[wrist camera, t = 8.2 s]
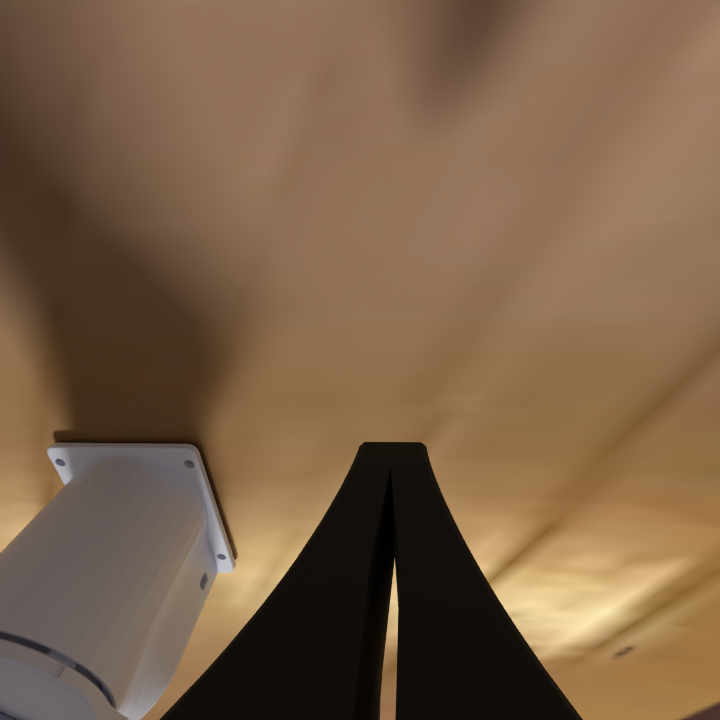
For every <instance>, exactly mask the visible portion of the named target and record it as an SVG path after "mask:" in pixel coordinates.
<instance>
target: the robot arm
mask: <svg viewBox="0 0 720 720" xmlns="http://www.w3.org/2000/svg"><path fill="white" fill-rule="evenodd" d="M47 453H48V455H49V457H50V459H51V461H52V463H53V464H54V466H55V468H56V470H57V472H58V473H59V475H60V477H61V479H62V481H63V482H64V484H65V486H64V487H63V488H62V489H61V490H60V491H59V492H58V494H57V495H56V496H55V497H54V498H53V499H52V500H51V501H50V502H49V503H48V504H47V505H46V506H45V507H44V508H43V509H42V510H41V511H40V512H39V513H38V514H37V515H36V516H35V517H34V519H33V520H32V521H31V522H30V523H29V524H28V525H27V526H26V527H25V528H24V529H23V530H22V531H21V532H20V533H19V534H18V535H17V536H16V537H15V538H14V539H13V540H12V541H11V543H10V544H9V545H8V546H7V547H6V548H5V549H4V550H3V551H2V552H1V553H0V720H140V719H141V718H142V717H143V716H144V715H145V714H146V713H147V712H148V711H149V710H150V709H151V708H152V707H153V706H154V705H155V704H156V702H157V701H158V700H159V698H160V697H161V696H162V694H163V693H164V692H165V690H166V689H167V687H168V685H169V684H170V682H171V680H172V678H173V676H174V674H175V672H176V669H177V667H178V665H179V662H180V660H181V657H182V655H183V653H184V650H185V648H186V646H187V643H188V641H189V639H190V636H191V634H192V632H193V629H194V627H195V625H196V622H197V620H198V617H199V615H200V613H201V610H202V608H203V606H204V603H205V601H206V599H207V596H208V594H209V592H210V589H211V587H212V585H213V582H214V580H215V577H216V575H217V573H218V572H220V573H230V572H232V571H233V570H234V568H235V566H236V562H235V559H234V556H233V553H232V550H231V547H230V544H229V541H228V538H227V535H226V532H225V529H224V526H223V523H222V520H221V517H220V514H219V511H218V508H217V504H216V501H215V498H214V495H213V492H212V489H211V486H210V483H209V480H208V477H207V474H206V471H205V468H204V465H203V462H202V459H201V456H200V453H199V451H198V449H197V448H196V447H195V446H193V445H191V444H146V443H54V444H53V445H51V446H50V447H49V448H48V450H47ZM190 461H192V462H190ZM394 559H395V566H396V580H397V594H398V608H399V610H398V651H397V689H396V720H583V719H582V718H581V717H580V715H579V714H578V713H577V711H576V710H575V709H574V707H573V706H572V705H571V703H570V702H569V701H568V699H567V698H566V697H565V695H564V694H563V693H562V691H561V690H560V689H559V687H558V686H557V684H556V683H555V682H554V680H553V679H552V678H551V676H550V675H549V674H548V672H547V671H546V670H545V668H544V667H543V665H542V664H541V663H540V661H539V660H538V658H537V657H536V655H535V654H534V652H533V651H532V649H531V648H530V647H529V645H528V644H527V642H526V641H525V639H524V638H523V636H522V635H521V633H520V632H519V630H518V629H517V628H516V626H515V624H514V623H513V621H512V620H511V618H510V617H509V615H508V614H507V612H506V610H505V609H504V607H503V606H502V604H501V603H500V601H499V600H498V598H497V596H496V595H495V593H494V591H493V590H492V588H491V587H490V585H489V583H488V581H487V580H486V578H485V576H484V575H483V573H482V571H481V570H480V568H479V566H478V564H477V562H476V561H475V559H474V557H473V555H472V554H471V552H470V550H469V548H468V546H467V544H466V543H465V541H464V539H463V537H462V535H461V533H460V531H459V529H458V527H457V525H456V523H455V521H454V519H453V517H452V515H451V513H450V510H449V508H448V506H447V504H446V502H445V500H444V498H443V495H442V493H441V491H440V488H439V486H438V483H437V481H436V478H435V475H434V473H433V470H432V467H431V464H430V461H429V457H428V453H427V447H426V446H425V445H424V444H423V443H421V442H364V443H363V444H362V445H360V447H359V449H358V452H357V455H356V457H355V459H354V462H353V464H352V466H351V468H350V470H349V472H348V474H347V476H346V478H345V480H344V482H343V484H342V486H341V488H340V490H339V491H338V493H337V495H336V497H335V498H334V500H333V502H332V503H331V505H330V507H329V509H328V510H327V512H326V514H325V516H324V517H323V519H322V521H321V522H320V524H319V525H318V527H317V528H316V530H315V531H314V533H313V534H312V536H311V538H310V539H309V541H308V542H307V544H306V545H305V547H304V548H303V550H302V551H301V553H300V554H299V556H298V557H297V559H296V560H295V561H294V563H293V564H292V566H291V567H290V568H289V570H288V571H287V573H286V574H285V575H284V577H283V578H282V579H281V581H280V582H279V584H278V585H277V586H276V588H275V589H274V590H273V591H272V593H271V594H270V595H269V597H268V598H267V599H266V600H265V602H264V603H263V604H262V606H261V607H260V608H259V609H258V611H257V612H256V613H255V614H254V615H253V617H252V618H251V619H250V620H249V621H248V623H247V624H246V625H245V626H244V627H243V629H242V630H241V631H240V632H239V633H238V635H237V636H236V637H235V638H234V639H233V640H232V642H231V643H230V644H229V645H228V646H227V648H226V649H225V650H224V651H223V652H222V653H221V654H220V656H219V657H218V658H217V659H216V660H215V661H214V662H213V663H212V665H211V666H210V667H209V668H208V669H207V670H206V671H205V672H204V673H203V675H202V676H201V677H200V678H199V679H198V680H197V681H196V682H195V683H194V684H193V685H192V686H191V687H190V688H189V689H188V690H187V691H186V692H185V693H184V694H183V695H182V697H181V698H180V699H179V700H178V701H177V702H176V703H175V704H174V705H173V706H172V707H171V708H170V709H169V710H168V711H167V712H166V713H165V714H164V715H163V716H162V718H161V719H160V720H380V696H381V682H382V669H383V660H384V651H385V642H386V633H387V623H388V614H389V605H390V596H391V587H392V577H393V568H394Z"/></svg>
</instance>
